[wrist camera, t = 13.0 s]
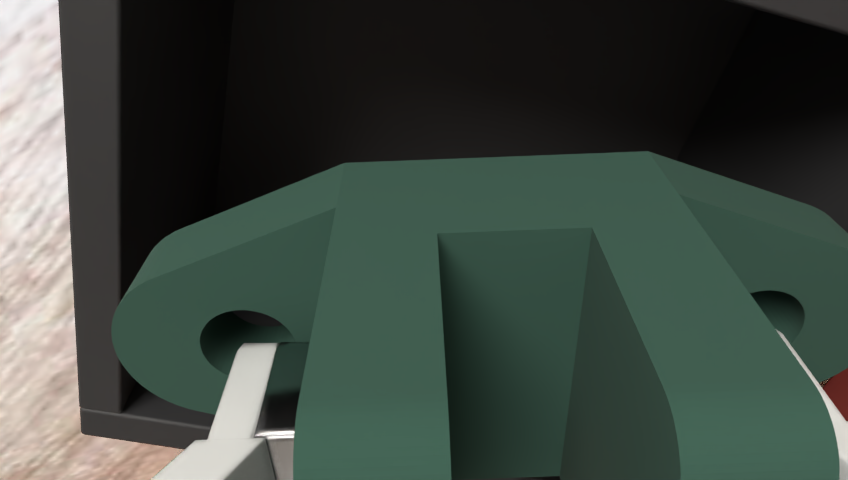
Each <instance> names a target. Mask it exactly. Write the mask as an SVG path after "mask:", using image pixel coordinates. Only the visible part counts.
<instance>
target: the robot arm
mask: <svg viewBox="0 0 848 480" xmlns="http://www.w3.org/2000/svg"><path fill="white" fill-rule="evenodd" d="M776 331H777V332H778V334H779V335H780V336H781V338H782V339H783V341H784V342H785V343H786V345H787V346H788V348H789V349H790V350H791V352H792V353H793V355H794V356H795V357H796V359H797V360H798V361H799V363H800V364H801V366H802V367H803V368H804V370H805V371H806V373H807V374H808V375H809V377H810V378H811V380H812V381H813V382H814V384H815V386H816V387H817V389H818V390H819V392H820V394H821V396H822V398H823V400H824V402H825V404H826V406H827V409H828V411H829V414H830V417H831V420H832V423H833V427H834V430H835V434H836V439H837V445H838V451H839V465H840V473H839V480H848V421H846V420H845V418H844V417H843V416H842V414H841V413H840V412H839V410H838V409H837V407H836V406H835V405H834V403H833V402H832V401H831V399H830V398H829V397H828V395H827V394H826V392H825V391H824V390H823V388H822V387H821V386H820V384H819V383H818V381H817V380H816V379H815V377H814V376H813V375H812V373H811V372H810V371H809V369H808V368H807V366H806V365H805V364H804V362H803V361H802V360H801V358H800V357H799V356H798V354H797V353H796V351H795V350H794V349H793V347H792V346H791V345H790V343H789V342H788V340H787V339H786V338H785V336H784V335H783V334H782V333H781V332H780V331H778V330H776ZM309 344H310V342H281V343H243V345H242V346H241V347H240V348H239V349H238V351H237V353H236V356H235V358H234V361H233V364H232V367H231V370H230V373H229V376H228V379H227V382H226V385H225V388H224V391H223V394H222V397H221V400H220V403H219V406H218V409H217V412H216V415H215V418H214V421H213V424H212V427H211V430H210V433H209V436H208V439H207V440H195V441H194V442H193V443H192V444H190V445H189V446H188V447H187V448H186V449H185V450H184V451H182V452H181V453H180V454H179V455H178V456H177V457H176V458H174V459H173V460H172V461H171V462H170V463H169V464H168V465H166V466H165V467H164V468H163V469H162V470H161V471H160V472H158V473H157V474H156V475H155V476H154V477H153V478H152V479H150V480H293V447H294V431H295V421H296V412H297V406H298V400H299V395H300V390H301V385H302V380H303V374H304V369H305V364H306V359H307V354H308V349H309Z"/></svg>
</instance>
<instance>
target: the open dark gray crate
mask: <svg viewBox="0 0 848 480" xmlns="http://www.w3.org/2000/svg"><path fill="white" fill-rule="evenodd" d="M58 1H59V20H60V39H61V59H62V78H63V97H64V116H65V135H66V155H67V174H68V193H69V212H70V231H71V251H72V270H73V289H74V308H75V327H76V347H77V366H78V385H79V404H80V407H81V408H80V416H81V432H82V433H83V434H85V435H92V436H99V437H105V438H112V439H119V440H125V441H132V442H139V443H146V444H152V445H159V446H166V447H172V448H179V449H186V448H187V447H188V446H189V445H190V444H192V443H193V442H194V441H195V440H207V439H208V436H209V433H210V430H211V427H212V424H213V421H214V418H215V415H214V414H209V413H205V412H200V411H195V410H191V409H187V408H184V407H181V406H178V405H175V404H173V403H170V402H168V401H166V400H164V399H162V398H160V397H158V396H157V395H155V394H153V393H152V392H150V391H149V390H147V389H146V388H144V387H143V386H142V385H141V384H139V383H138V382H137V381H136V380H135V379H134V378H133V377H132V376H131V375H130V374H129V373H128V371H127V370H126V369H125V368H124V366H123V365H122V363H121V362H120V360H119V358H118V356H117V354H116V352H115V349H114V346H113V342H112V335H111V326H112V320H113V316H114V314H115V311H116V309H117V307H118V305H119V304H120V302H121V300H122V299H123V297H124V295H125V294H126V292H127V290H128V289H129V287H130V285H131V284H132V282H133V280H134V279H135V277H136V275H137V274H138V272H139V270H140V269H141V267H142V265H143V264H144V262H145V261H146V259H147V257H148V256H149V254H150V252H151V251H152V250H153V248H154V247H155V246H156V245H157V244H158V243H159V242H160V241H161V240H162V239H164V238H165V237H166V236H168V235H170V234H171V233H173V232H175V231H177V230H179V229H181V228H184V227H186V226H189V225H191V224H194V223H196V222H199V221H201V220H204V219H206V218H209V217H211V216H214V215H216V214H219V213H221V212H224V211H226V210H229V209H231V208H234V207H236V206H239V205H241V204H244V203H246V202H249V201H251V200H254V199H256V198H259V197H261V196H263V195H266V194H268V193H271V192H273V191H276V190H278V189H281V188H283V187H286V186H288V185H291V184H293V183H296V182H298V181H301V180H303V179H306V178H308V177H311V176H313V175H316V174H318V173H321V172H323V171H326V170H328V169H331V168H333V167H336V166H338V165H341V164H343V163H353V162H379V161H405V160H431V159H457V158H483V157H510V156H536V155H562V154H588V153H614V152H640V151H649V152H652V153H655V154H658V155H661V156H664V157H667V158H670V159H673V160H676V161H679V162H682V163H685V164H688V165H691V166H694V167H697V168H700V169H703V170H706V171H709V172H712V173H715V174H718V175H721V176H724V177H727V178H730V179H733V180H736V181H739V182H742V183H745V184H748V185H751V186H754V187H757V188H760V189H763V190H766V191H769V192H772V193H775V194H778V195H781V196H784V197H787V198H790V199H793V200H796V201H799V202H802V203H805V204H808V205H811V206H813V207H816V208H818V209H820V210H821V211H823V212H825V213H826V214H827V215H829V216H830V217H831V218H832V219H833V220H834V221H835V222H836V223H837V224H838V225H839V226H840V227H842V228H843V229H844V230H845V231H846V232H847V233H848V0H58ZM750 294H751V293H750ZM232 312H233V313H234V314H235V315H237V316H238V317H239V318H241V319H243V320H245V321H247V322H249V323H252V324H255V325H260V326H280V325H283V324H282V323H280V322H279V321H278V320H276V319H274V318H272V317H270V316H268V315H266V314H263V313H259V312H255V311H248V310H235V311H232ZM462 480H560V476H546V477H518V478H490V479H462Z"/></svg>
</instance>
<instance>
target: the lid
mask: <svg viewBox="0 0 848 480" xmlns="http://www.w3.org/2000/svg"><path fill="white" fill-rule="evenodd" d="M823 390H824V391H825V392H826V394H827V395H828V397H829V398H830V399H831V401H832V402H833V403H834V405H835V406H836V407H837V409H838V410H839V412H840V413H841V414H842V416H843V417H844V418H845V420H846V421H848V368H847V369H845V370H843V371H842V372H840V373H838V374H837V375H835V376H833V377H831V378H830V379H829V380H828V382H827V383H826V384H825V385H824V386H823Z"/></svg>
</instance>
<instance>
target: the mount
mask: <svg viewBox="0 0 848 480" xmlns="http://www.w3.org/2000/svg"><path fill="white" fill-rule="evenodd" d="M750 293H751V294H750ZM235 310H248V311H255V312H259V313H263V314H266V315H268V316H270V317H272V318H274V319H276V320H278V321H279V322H280V323H282V324H283V325H280V326H260V325H255V324H252V323H249V322H247V321H245V320H243V319H241V318H239V317H238V316H237V315H235V314H234V313H233V312H232V311H235ZM776 330H778V331H780V332H781V333H782V334H783V335H784V336H785V338H786V339H787V340H788V342H789V343H790V345H791V346H792V347H793V349H794V350H795V351H796V353H797V354H798V356H799V357H800V358H801V360H802V361H803V362H804V364H805V365H806V366H807V368H808V369H809V371H810V372H811V373H812V375H813V376H814V377H815V379H816V380H817V381H818V383H820V382H822V381H824V380H827V379H829V378H831V377H833V376H835V375H837V374H838V373H840V372H842V371H843V370H845V369H847V368H848V233H847V232H846V231H845V230H844V229H843V228H842V227H840V226H839V225H838V224H837V223H836V222H835V221H834V220H833V219H832V218H831V217H830V216H829V215H827V214H826V213H825V212H823V211H821V210H820V209H818V208H816V207H813V206H811V205H808V204H805V203H802V202H799V201H796V200H793V199H790V198H787V197H784V196H781V195H778V194H775V193H772V192H769V191H766V190H763V189H760V188H757V187H754V186H751V185H748V184H745V183H742V182H739V181H736V180H733V179H730V178H727V177H724V176H721V175H718V174H715V173H712V172H709V171H706V170H703V169H700V168H697V167H694V166H691V165H688V164H685V163H682V162H679V161H676V160H673V159H670V158H667V157H664V156H661V155H658V154H655V153H652V152H649V151H640V152H614V153H588V154H562V155H536V156H510V157H483V158H457V159H431V160H405V161H379V162H353V163H343V164H341V165H338V166H336V167H333V168H331V169H328V170H326V171H323V172H321V173H318V174H316V175H313V176H311V177H308V178H306V179H303V180H301V181H298V182H296V183H293V184H291V185H288V186H286V187H283V188H281V189H278V190H276V191H273V192H271V193H268V194H266V195H263V196H261V197H259V198H256V199H254V200H251V201H249V202H246V203H244V204H241V205H239V206H236V207H234V208H231V209H229V210H226V211H224V212H221V213H219V214H216V215H214V216H211V217H209V218H206V219H204V220H201V221H199V222H196V223H194V224H191V225H189V226H186V227H184V228H181V229H179V230H177V231H175V232H173V233H171V234H170V235H168V236H166V237H165V238H164V239H162V240H161V241H160V242H159V243H158V244H157V245H156V246H155V247H154V248H153V250H152V251H151V252H150V254H149V256H148V257H147V259H146V261H145V262H144V264H143V265H142V267H141V269H140V270H139V272H138V274H137V275H136V277H135V279H134V280H133V282H132V284H131V285H130V287H129V289H128V290H127V292H126V294H125V295H124V297H123V299H122V300H121V302H120V304H119V305H118V307H117V309H116V311H115V314H114V316H113V320H112V326H111V335H112V342H113V346H114V349H115V352H116V354H117V356H118V358H119V360H120V362H121V363H122V365H123V366H124V368H125V369H126V370H127V371H128V373H129V374H130V375H131V376H132V377H133V378H134V379H135V380H136V381H137V382H138V383H139V384H141V385H142V386H143V387H144V388H146V389H147V390H149V391H150V392H152V393H153V394H155V395H157V396H158V397H160V398H162V399H164V400H166V401H168V402H170V403H173V404H175V405H178V406H181V407H184V408H187V409H191V410H195V411H200V412H205V413H209V414H214V415H216V412H217V409H218V406H219V403H220V400H221V397H222V394H223V391H224V388H225V385H226V382H227V379H228V376H229V373H230V370H231V367H232V364H233V361H234V358H235V356H236V353H237V351H238V349H239V348H240V347H241V346H242V345H243V343H281V342H310V344H309V349H308V354H307V359H306V364H305V369H304V374H303V380H302V385H301V390H300V395H299V400H298V406H297V412H296V421H295V431H294V447H293V480H462V479H490V478H518V477H546V476H560V480H839V473H840V465H839V451H838V445H837V439H836V434H835V430H834V427H833V423H832V420H831V417H830V414H829V411H828V409H827V406H826V404H825V402H824V400H823V398H822V396H821V394H820V392H819V390H818V389H817V387H816V386H815V384H814V382H813V381H812V380H811V378H810V377H809V375H808V374H807V373H806V371H805V370H804V368H803V367H802V366H801V364H800V363H799V361H798V360H797V359H796V357H795V356H794V355H793V353H792V352H791V350H790V349H789V348H788V346H787V345H786V343H785V342H784V341H783V339H782V338H781V336H780V335H779V334H778V332H777V331H776Z"/></svg>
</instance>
